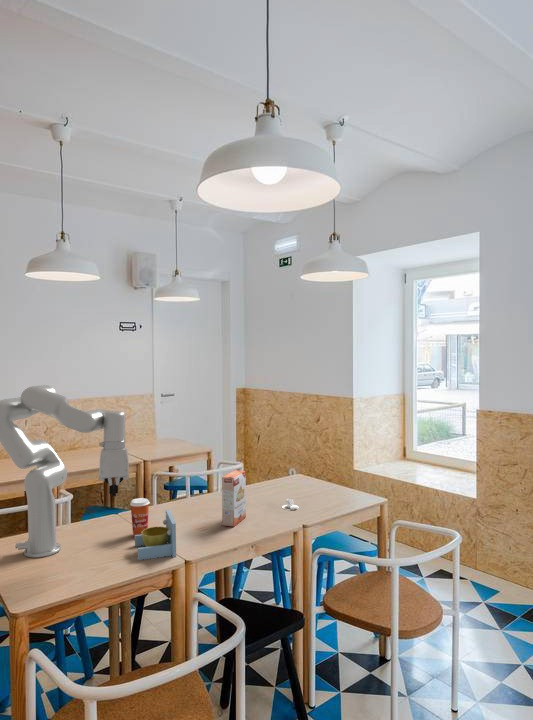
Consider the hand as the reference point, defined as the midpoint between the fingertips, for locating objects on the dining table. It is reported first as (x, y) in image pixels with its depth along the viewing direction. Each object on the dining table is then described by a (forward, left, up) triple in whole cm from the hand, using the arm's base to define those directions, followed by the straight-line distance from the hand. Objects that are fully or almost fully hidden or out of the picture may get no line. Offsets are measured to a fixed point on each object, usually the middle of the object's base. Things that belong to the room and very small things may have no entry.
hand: (113, 495), depth 186 cm
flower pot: (+15, 0, -22) cm, 26 cm away
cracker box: (+51, +21, -22) cm, 59 cm away
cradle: (+14, 0, -22) cm, 26 cm away
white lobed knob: (+78, +29, -23) cm, 86 cm away
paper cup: (+11, +19, -22) cm, 31 cm away
